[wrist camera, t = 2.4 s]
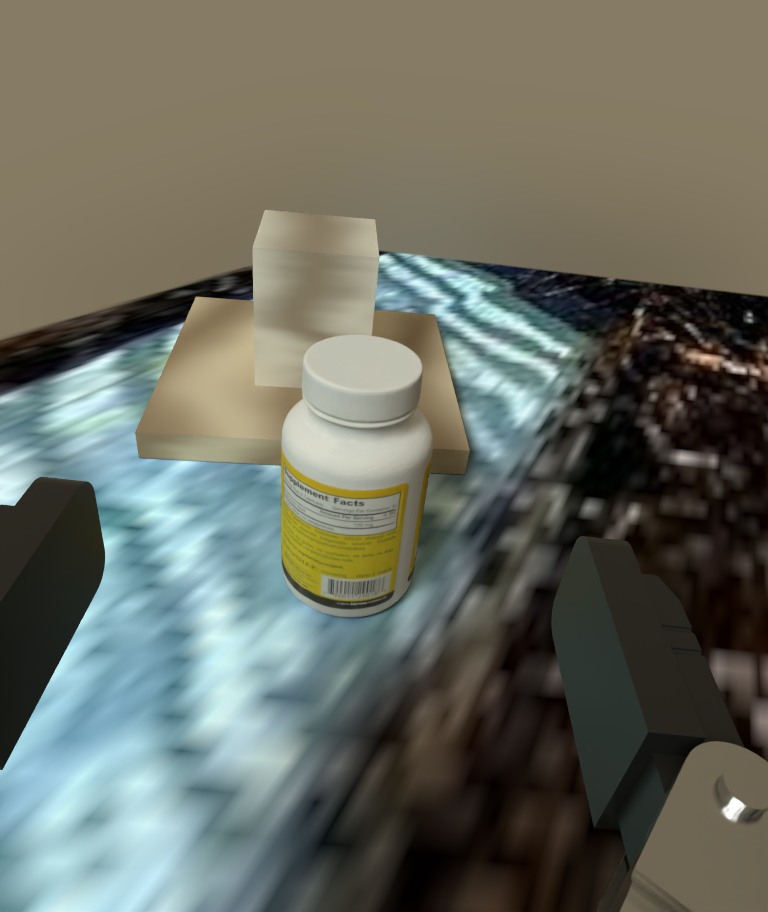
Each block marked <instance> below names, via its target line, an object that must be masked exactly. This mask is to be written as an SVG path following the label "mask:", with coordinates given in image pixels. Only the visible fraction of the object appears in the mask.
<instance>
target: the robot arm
mask: <svg viewBox="0 0 768 912" xmlns="http://www.w3.org/2000/svg"><path fill="white" fill-rule="evenodd" d="M104 565H105V549H104V543H103V537H102V532H101V526H100V520H99V514H98V509H97V503H96V497H95V492H94V489H93V486H92V485H91V484H90V483H89V482H85V481H76V480H67V479H57V478H48V477H40V478H37V479H36V480H35V481H34V482H33V483H32V484H31V486H30V487H29V488H28V489H27V491H26V492H25V493H24V495H23V496H22V497H21V498H20V500H19V501H18V502H17V504H16V505H15V506H9V505H0V770H3V768H4V766H5V764H6V762H7V760H8V758H9V757H10V755H11V753H12V751H13V749H14V747H15V745H16V743H17V741H18V740H19V738H20V736H21V734H22V732H23V730H24V728H25V726H26V724H27V722H28V721H29V719H30V717H31V715H32V713H33V711H34V709H35V707H36V705H37V703H38V702H39V700H40V698H41V696H42V694H43V692H44V690H45V688H46V686H47V685H48V683H49V681H50V679H51V677H52V675H53V673H54V671H55V669H56V667H57V666H58V664H59V662H60V660H61V658H62V656H63V654H64V652H65V650H66V649H67V647H68V645H69V643H70V641H71V639H72V637H73V635H74V633H75V631H76V630H77V628H78V626H79V624H80V622H81V620H82V618H83V616H84V614H85V612H86V611H87V609H88V607H89V605H90V603H91V601H92V599H93V597H94V595H95V594H96V592H97V590H98V588H99V585H100V583H101V579H102V576H103V571H104ZM691 629H692V627H691V625H690V623H689V620H688V618H687V616H686V613H685V611H684V609H683V607H682V604H681V602H680V600H679V599H678V598H677V597H676V596H675V595H674V594H673V592H672V591H671V590H670V589H669V588H668V587H667V586H666V585H665V584H664V583H663V581H662V580H661V579H660V578H659V577H658V576H657V575H648V574H642V573H641V570H640V568H639V565H638V563H637V560H636V557H635V555H634V552H633V550H632V548H631V546H630V544H629V543H628V542H627V541H622V540H613V539H604V538H594V537H585V536H581V537H579V538H578V539H577V541H576V543H575V545H574V548H573V550H572V553H571V556H570V559H569V561H568V564H567V567H566V570H565V572H564V575H563V578H562V581H561V583H560V586H559V589H558V592H557V594H556V597H555V600H554V605H553V611H552V635H553V640H554V645H555V649H556V654H557V658H558V663H559V668H560V672H561V677H562V682H563V686H564V691H565V696H566V700H567V705H568V709H569V714H570V719H571V723H572V728H573V733H574V737H575V742H576V746H577V751H578V756H579V760H580V765H581V770H582V774H583V779H584V784H585V788H586V793H587V797H588V802H589V807H590V811H591V816H592V821H593V825H594V828H602V829H613V830H620V831H621V835H622V839H623V843H624V847H625V851H626V852H625V854H624V855H623V857H622V858H621V860H620V862H619V864H618V866H617V868H616V870H615V872H614V874H613V876H612V878H611V880H610V882H609V884H608V886H607V888H606V890H605V892H604V894H603V896H602V898H601V900H600V902H599V904H598V906H597V908H596V910H595V912H768V762H767V761H765V760H764V759H763V758H761V757H760V756H758V755H757V754H755V753H753V752H751V751H749V750H748V749H745V747H744V745H743V743H742V741H741V739H740V737H739V735H738V732H737V730H736V728H735V725H734V723H733V721H732V719H731V716H730V714H729V712H728V709H727V707H726V705H725V703H724V700H723V698H722V696H721V693H720V691H719V689H718V687H717V684H716V682H715V680H714V677H713V675H712V673H711V671H710V668H709V666H708V664H707V661H706V659H705V657H704V656H702V655H701V651H702V650H701V648H700V645H699V643H698V641H697V639H696V636H695V634H694V633H692V632H691Z"/></svg>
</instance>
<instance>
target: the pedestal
mask: <svg viewBox="0 0 768 912" xmlns="http://www.w3.org/2000/svg"><path fill="white" fill-rule="evenodd" d="M378 266H379V251H378V243H377V234H376V225H375V220H373V219H362V218H350V217H338V216H327V215H316V214H305V213H293V212H282V211H270V210H265V212H264V215H263V218H262V221H261V224H260V227H259V230H258V233H257V236H256V239H255V242H254V245H253V297H254V301H246V300H232V299H219V298H205V297H196V298H195V301H194V303H193V305H192V307H191V310H190V312H189V314H188V316H187V318H186V321H185V323H184V325H183V327H182V330H181V332H180V334H179V336H178V338H177V341H176V343H175V345H174V347H173V350H172V352H171V354H170V356H169V358H168V361H167V363H166V365H165V367H164V370H163V372H162V374H161V376H160V378H159V381H158V383H157V385H156V387H155V390H154V392H153V394H152V396H151V398H150V401H149V403H148V405H147V407H146V410H145V412H144V414H143V416H142V418H141V421H140V423H139V425H138V427H137V430H136V432H135V433H136V440H137V447H138V454H139V458H153V459H172V460H191V461H211V462H230V463H249V464H269V465H281V440H282V428H283V424H284V421H285V418H286V417H287V415H288V413H289V411H290V410H291V409H292V408H293V407H294V406H295V405H296V404H297V403H298V402H299V401H300V400H302V399H303V396H302V373H303V358H304V355H305V353H306V351H307V350H308V349H309V348H310V347H311V346H312V345H314V344H315V343H317V342H319V341H322V340H324V339H327V338H331V337H335V336H343V335H370V336H376V337H381V338H385V339H389V340H392V341H395V342H398V343H400V344H402V345H404V346H406V347H408V348H409V349H411V350H412V351H413V352H414V353H416V354H417V356H418V357H419V358H420V360H421V362H422V365H423V376H422V385H421V394H420V399H419V404H418V407H417V408H418V409H419V410H420V411H421V412H422V413H423V414H424V416H425V417H426V419H427V420H428V422H429V424H430V426H431V429H432V433H433V449H432V459H431V465H430V471H429V473H443V474H463V475H465V471H466V466H467V462H468V457H469V452H470V449H469V445H468V441H467V437H466V434H465V430H464V426H463V422H462V418H461V414H460V410H459V406H458V402H457V399H456V395H455V391H454V387H453V383H452V379H451V375H450V371H449V368H448V364H447V360H446V356H445V352H444V348H443V344H442V340H441V337H440V333H439V329H438V325H437V321H436V317H435V315H433V314H420V313H407V312H393V311H380V310H374V307H375V296H376V286H377V276H378Z"/></svg>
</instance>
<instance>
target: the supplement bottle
mask: <svg viewBox="0 0 768 912" xmlns="http://www.w3.org/2000/svg"><path fill="white" fill-rule="evenodd" d="M422 376H423V365H422V362H421V360H420V358H419V357H418V356H417V354H416V353H414V352H413V351H412V350H411V349H409V348H408V347H406V346H404V345H402V344H400V343H398V342H395V341H392V340H389V339H385V338H381V337H376V336H370V335H343V336H335V337H331V338H327V339H324V340H322V341H319V342H317V343H315V344H314V345H312V346H311V347H310V348H309V349H308V350H307V351H306V353H305V355H304V358H303V373H302V396H303V399H302V400H300V401H299V402H298V403H297V404H296V405H295V406H294V407H293V408H292V409H291V410H290V411H289V413H288V415H287V417H286V418H285V421H284V424H283V428H282V440H281V552H282V570H283V575H284V578H285V581H286V583H287V585H288V587H289V588H290V590H291V591H292V592H293V594H294V595H295V596H296V597H297V598H298V599H299V600H300V601H302V602H303V603H304V604H306V605H308V606H309V607H311V608H313V609H315V610H317V611H319V612H322V613H325V614H328V615H332V616H338V617H363V616H368V615H372V614H375V613H378V612H380V611H382V610H384V609H386V608H388V607H390V606H391V605H393V604H394V603H395V602H397V601H398V600H399V599H400V598H401V597H402V596H403V594H404V593H405V592H406V590H407V588H408V587H409V584H410V582H411V579H412V575H413V570H414V565H415V560H416V554H417V546H418V540H419V534H420V528H421V521H422V515H423V509H424V503H425V496H426V489H427V483H428V477H429V471H430V465H431V459H432V449H433V433H432V429H431V426H430V424H429V422H428V420H427V419H426V417H425V416H424V414H423V413H422V412H421V411H420V410H419V409H418V408H417V407H418V404H419V399H420V394H421V385H422Z"/></svg>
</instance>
